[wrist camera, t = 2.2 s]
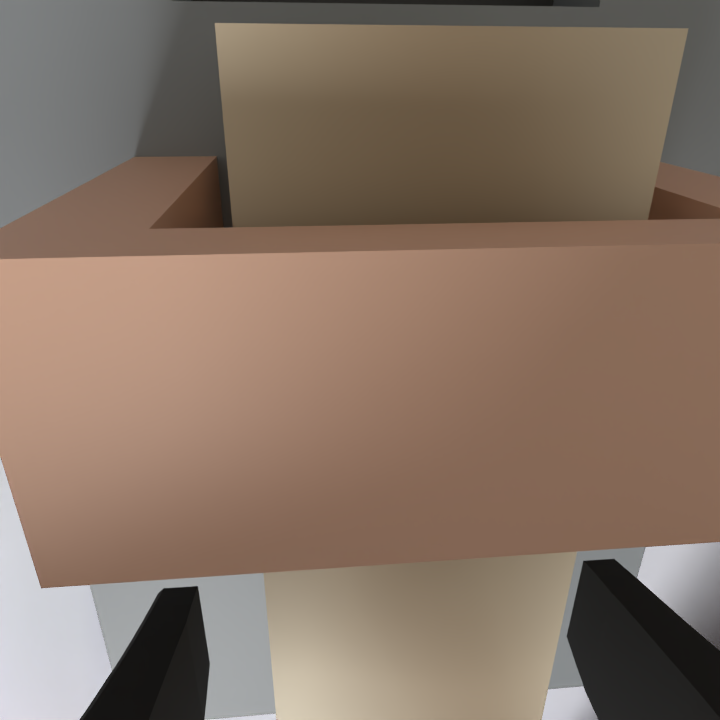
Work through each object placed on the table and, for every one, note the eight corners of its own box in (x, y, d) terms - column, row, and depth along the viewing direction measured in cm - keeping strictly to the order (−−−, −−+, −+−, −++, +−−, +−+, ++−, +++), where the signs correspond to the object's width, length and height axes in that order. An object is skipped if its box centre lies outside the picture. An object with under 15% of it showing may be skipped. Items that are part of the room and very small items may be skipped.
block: (286, 592, 13) (283, 792, 9) (249, 43, 8) (214, 23, 5) (467, 579, 13) (531, 767, 10) (527, 45, 9) (688, 28, 5)
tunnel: (162, 341, 10) (41, 587, 5) (134, 157, 9) (-61, 260, 4) (592, 327, 11) (832, 534, 6) (624, 152, 10) (964, 237, 5)
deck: (145, 653, 16) (126, 726, 14) (-99, -455, 7) (-225, -621, 6) (575, 619, 17) (607, 684, 15) (802, -386, 8) (936, -508, 7)
